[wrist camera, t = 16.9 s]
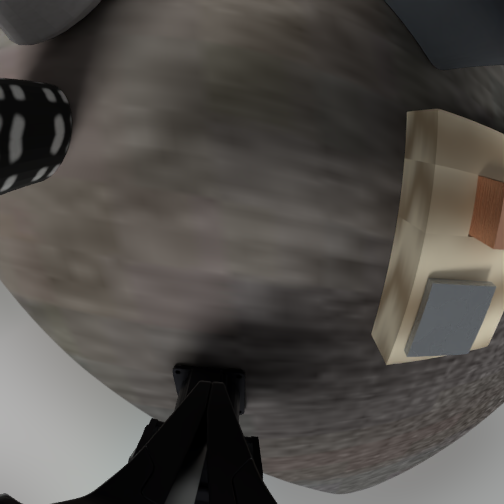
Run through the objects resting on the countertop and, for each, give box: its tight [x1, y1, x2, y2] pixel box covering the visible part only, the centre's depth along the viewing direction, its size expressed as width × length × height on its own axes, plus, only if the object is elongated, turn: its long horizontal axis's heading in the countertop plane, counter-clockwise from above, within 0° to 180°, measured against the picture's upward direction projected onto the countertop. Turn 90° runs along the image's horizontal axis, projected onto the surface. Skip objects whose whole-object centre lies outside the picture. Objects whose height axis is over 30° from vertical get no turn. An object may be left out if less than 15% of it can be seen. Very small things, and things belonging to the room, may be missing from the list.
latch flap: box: [404, 278, 496, 357], centre depth 16 cm, size 6×6×1 cm
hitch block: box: [371, 109, 504, 365], centre depth 17 cm, size 18×12×4 cm, turn 179°
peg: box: [469, 176, 504, 250], centre depth 15 cm, size 4×4×7 cm
